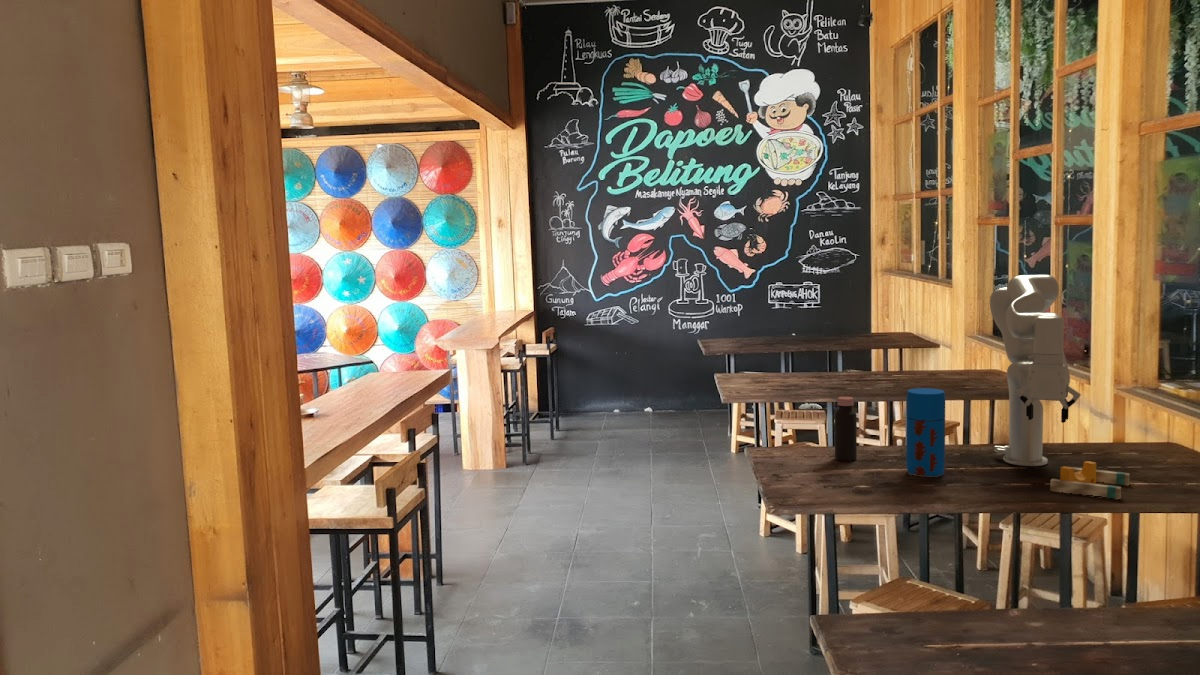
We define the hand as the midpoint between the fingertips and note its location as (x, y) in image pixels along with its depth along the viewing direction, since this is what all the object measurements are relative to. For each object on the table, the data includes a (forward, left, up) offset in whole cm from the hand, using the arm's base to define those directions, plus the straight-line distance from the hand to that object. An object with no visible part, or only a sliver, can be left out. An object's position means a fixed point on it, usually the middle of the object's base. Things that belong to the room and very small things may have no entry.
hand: (1047, 420), depth 268 cm
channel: (+11, 0, -18) cm, 21 cm away
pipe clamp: (+8, 0, -18) cm, 20 cm away
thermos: (-32, -6, -18) cm, 37 cm away
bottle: (-59, -1, -18) cm, 62 cm away
